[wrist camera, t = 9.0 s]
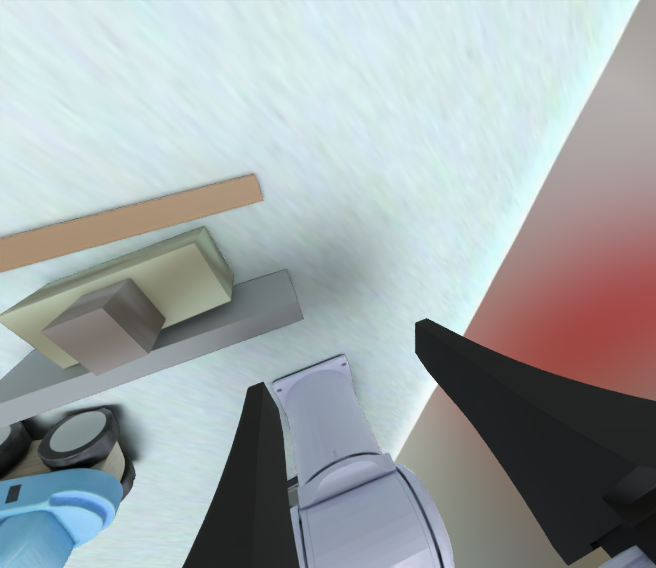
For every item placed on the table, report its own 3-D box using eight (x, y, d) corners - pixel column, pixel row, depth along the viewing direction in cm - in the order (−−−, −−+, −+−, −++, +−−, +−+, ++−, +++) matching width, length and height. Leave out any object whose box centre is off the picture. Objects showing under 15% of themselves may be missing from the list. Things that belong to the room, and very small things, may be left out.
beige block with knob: (233, 274, 18) (228, 330, 12) (99, 327, 17) (23, 417, 11) (205, 225, 16) (181, 264, 10) (50, 282, 15) (-75, 362, 9)
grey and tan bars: (291, 284, 20) (304, 319, 16) (50, 365, 17) (-14, 433, 13) (254, 173, 16) (257, 179, 11) (-79, 257, 13) (-239, 307, 9)
